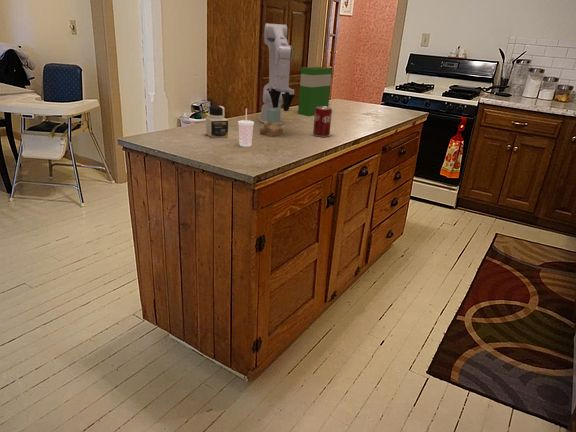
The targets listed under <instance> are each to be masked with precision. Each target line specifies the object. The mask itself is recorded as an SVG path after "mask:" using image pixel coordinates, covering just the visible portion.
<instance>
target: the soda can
mask: <svg viewBox="0 0 576 432" xmlns="http://www.w3.org/2000/svg"><path fill="white" fill-rule="evenodd" d="M332 113H333V110H332V108H331V107H329V106H328V107H316V108H315V115H314V118H313V119H314V120H313V129H312V134H313V136H315V137H318V138H327V137H329V136H330V133H331V122H332Z"/></svg>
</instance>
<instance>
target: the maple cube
mask: <svg viewBox="0 0 576 432" xmlns="http://www.w3.org/2000/svg"><path fill="white" fill-rule="evenodd" d="M280 123H281V121H280V122H278V123H271V122H267V121H264V123H263V128H264V129H268V130H273V131H274V130H278V129H281V124H280Z"/></svg>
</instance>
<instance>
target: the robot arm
mask: <svg viewBox="0 0 576 432" xmlns="http://www.w3.org/2000/svg"><path fill="white" fill-rule="evenodd" d="M263 33H264V34H263V37H264V40H263V41H264V44H265V45H267V49H268V54H269V55H268V57H269V58H268V69H269V70H268V83H266V84H265V85H264V87H263V91H262V102H263V103H264V104H263V105H261V110H260V111H261V112H260V120H259V122H260V123H263V124H264V121H266V120H267V109H277V110H280V115H281V113H282V110H281V109H283V112H289V110H290V106H291V104H292V102H293V100H294V98H295V96H296V94H295V89H294V88H293V89H292V88H291V87H289V85H290V72H291V71H290V70H291V69H290V68H291V61H292V60H293V46H292V45H289V42H288V39H287V37H288V26H287V24H279V23H277V24H276V23H268V22H266V23H265V24H264V31H263ZM282 105H283V106H282ZM282 107H283V108H282ZM280 122H281V121H280ZM284 124H285V123H284V122H281V123H280V125H284Z"/></svg>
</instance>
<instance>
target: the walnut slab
mask: <svg viewBox="0 0 576 432" xmlns="http://www.w3.org/2000/svg"><path fill="white" fill-rule="evenodd" d="M259 128H260V127H259ZM259 134H260V135H261V136H266V137H269V138H276V137H280V136H284V129H283V128H280V129H278V130H274V131H273V130H268V129H264V127H261V128H260V129H259Z"/></svg>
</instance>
